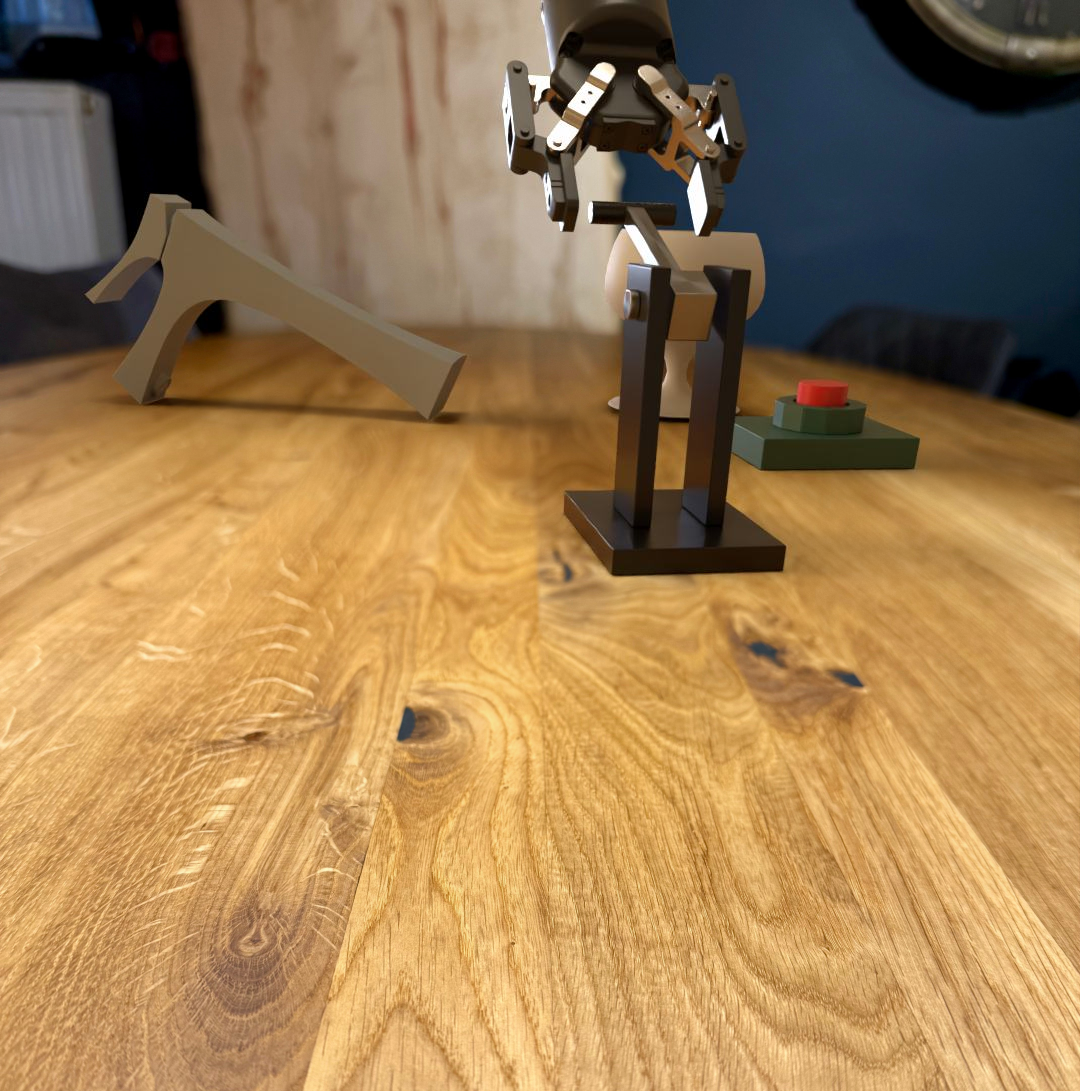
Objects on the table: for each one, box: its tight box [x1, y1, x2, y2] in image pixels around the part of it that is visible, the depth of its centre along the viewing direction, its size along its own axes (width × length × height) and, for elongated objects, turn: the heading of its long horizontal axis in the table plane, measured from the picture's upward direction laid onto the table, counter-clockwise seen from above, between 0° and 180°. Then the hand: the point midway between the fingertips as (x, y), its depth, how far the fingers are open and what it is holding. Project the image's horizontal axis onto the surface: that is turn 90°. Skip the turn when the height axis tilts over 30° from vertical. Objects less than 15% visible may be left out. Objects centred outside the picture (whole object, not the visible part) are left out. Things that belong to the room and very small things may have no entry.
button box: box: [731, 394, 921, 471], centre depth 78 cm, size 12×9×4 cm
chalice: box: [604, 228, 766, 419], centre depth 92 cm, size 14×14×15 cm
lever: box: [587, 200, 718, 341], centre depth 55 cm, size 14×5×2 cm, turn 10°
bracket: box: [563, 263, 787, 576], centre depth 54 cm, size 12×9×14 cm
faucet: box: [84, 193, 468, 420], centre depth 88 cm, size 6×17×30 cm
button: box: [796, 379, 850, 407], centre depth 77 cm, size 4×4×2 cm
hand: (640, 223), depth 58 cm, fingers open, 7 cm apart
